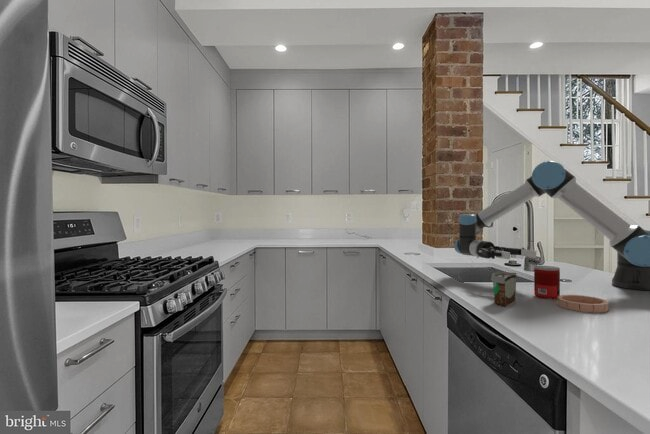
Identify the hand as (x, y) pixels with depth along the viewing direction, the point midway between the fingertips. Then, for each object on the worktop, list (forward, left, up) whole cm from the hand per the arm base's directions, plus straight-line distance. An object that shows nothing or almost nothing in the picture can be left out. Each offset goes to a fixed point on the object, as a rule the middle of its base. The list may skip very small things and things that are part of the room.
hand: (522, 255), depth 141 cm
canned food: (-3, +10, -15) cm, 18 cm away
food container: (+18, +16, -15) cm, 28 cm away
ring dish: (-5, +24, -14) cm, 28 cm away
